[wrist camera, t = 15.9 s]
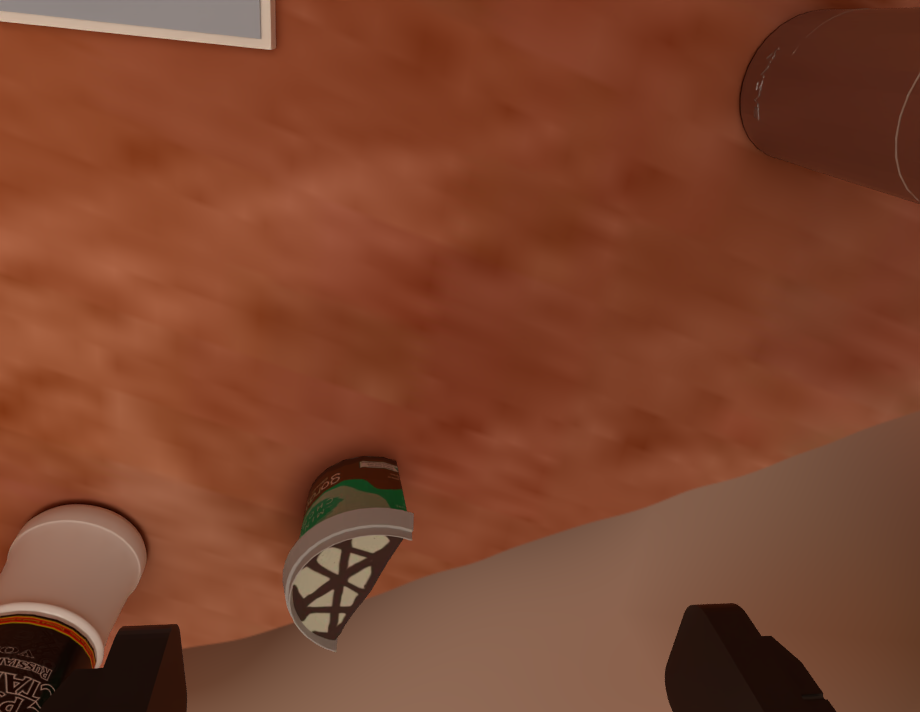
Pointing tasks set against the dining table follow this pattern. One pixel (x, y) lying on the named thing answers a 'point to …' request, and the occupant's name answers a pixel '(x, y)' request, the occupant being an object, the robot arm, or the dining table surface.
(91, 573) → the vodka
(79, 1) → the podium
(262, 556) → the dining table surface
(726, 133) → the dining table surface
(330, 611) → the food container
